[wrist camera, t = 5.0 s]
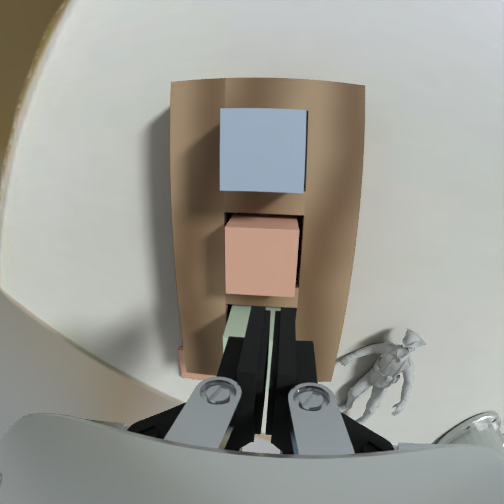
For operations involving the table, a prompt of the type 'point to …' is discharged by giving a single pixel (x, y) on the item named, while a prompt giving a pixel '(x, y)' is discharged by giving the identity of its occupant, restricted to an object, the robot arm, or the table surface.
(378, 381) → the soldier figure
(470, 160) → the table surface
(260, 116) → the light blue block
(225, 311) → the board
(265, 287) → the salmon pink rectangular block
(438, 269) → the table surface
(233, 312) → the mint green block
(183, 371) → the tile
